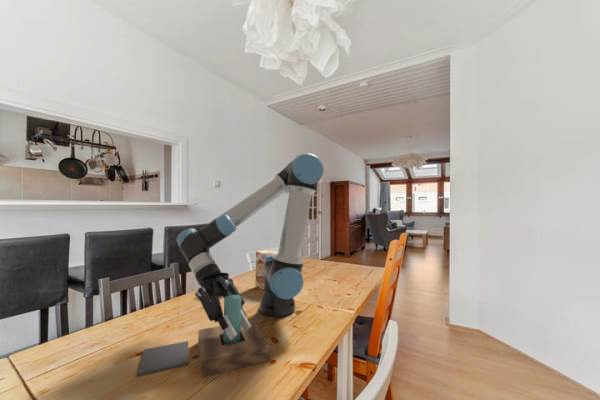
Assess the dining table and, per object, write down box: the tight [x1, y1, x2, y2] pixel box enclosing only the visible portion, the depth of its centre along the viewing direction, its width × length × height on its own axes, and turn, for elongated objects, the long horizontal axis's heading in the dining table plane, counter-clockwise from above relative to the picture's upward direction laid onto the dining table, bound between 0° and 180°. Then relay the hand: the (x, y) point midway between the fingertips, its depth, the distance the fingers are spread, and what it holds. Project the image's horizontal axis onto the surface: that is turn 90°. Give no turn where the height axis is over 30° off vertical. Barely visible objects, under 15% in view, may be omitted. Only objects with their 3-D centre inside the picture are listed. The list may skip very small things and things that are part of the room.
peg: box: [223, 294, 242, 345], centre depth 76 cm, size 5×5×16 cm
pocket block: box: [197, 319, 271, 378], centre depth 76 cm, size 18×18×4 cm
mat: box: [136, 340, 189, 377], centre depth 72 cm, size 12×12×1 cm
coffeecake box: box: [255, 249, 278, 290], centre depth 135 cm, size 15×7×20 cm, turn 50°
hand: (241, 333), depth 74 cm, fingers open, 5 cm apart
